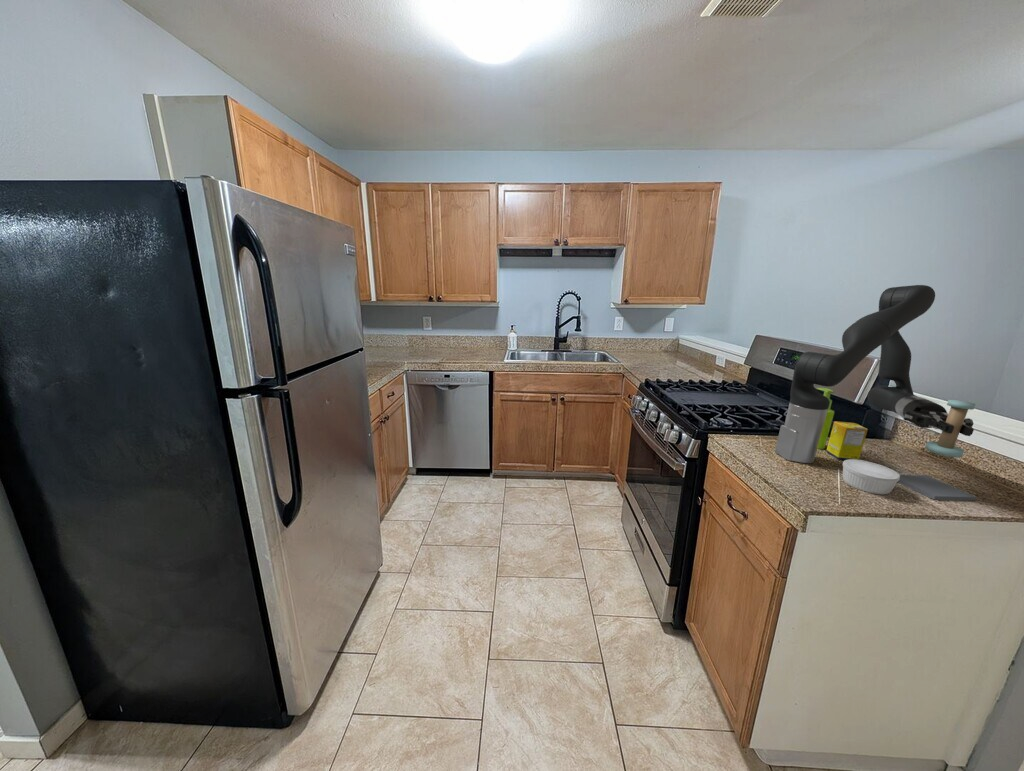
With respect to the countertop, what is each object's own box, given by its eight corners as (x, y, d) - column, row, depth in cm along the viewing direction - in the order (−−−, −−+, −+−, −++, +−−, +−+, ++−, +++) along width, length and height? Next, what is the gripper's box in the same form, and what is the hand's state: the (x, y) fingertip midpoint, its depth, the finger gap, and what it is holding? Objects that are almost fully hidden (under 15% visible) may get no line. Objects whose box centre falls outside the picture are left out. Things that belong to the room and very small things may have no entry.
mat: (933, 499, 92) (935, 496, 92) (889, 477, 103) (890, 474, 102) (975, 500, 92) (976, 496, 92) (926, 478, 103) (927, 475, 103)
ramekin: (855, 493, 94) (860, 475, 92) (829, 473, 104) (833, 456, 103) (906, 500, 92) (913, 481, 90) (874, 478, 102) (880, 461, 101)
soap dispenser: (814, 441, 127) (828, 387, 122) (828, 449, 121) (844, 392, 116) (796, 440, 128) (810, 386, 123) (810, 448, 121) (825, 391, 116)
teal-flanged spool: (945, 457, 92) (965, 405, 88) (917, 446, 98) (935, 398, 94) (970, 457, 92) (990, 406, 88) (940, 447, 98) (958, 398, 94)
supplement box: (845, 453, 118) (854, 422, 115) (858, 461, 112) (868, 429, 109) (824, 451, 119) (833, 420, 116) (837, 459, 113) (846, 427, 110)
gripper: (891, 395, 107) (927, 412, 92) (957, 402, 102) (1006, 421, 87) (884, 419, 109) (918, 439, 94) (947, 427, 104) (994, 450, 89)
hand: (960, 430), depth 90 cm, fingers closed on teal-flanged spool, 3 cm apart
